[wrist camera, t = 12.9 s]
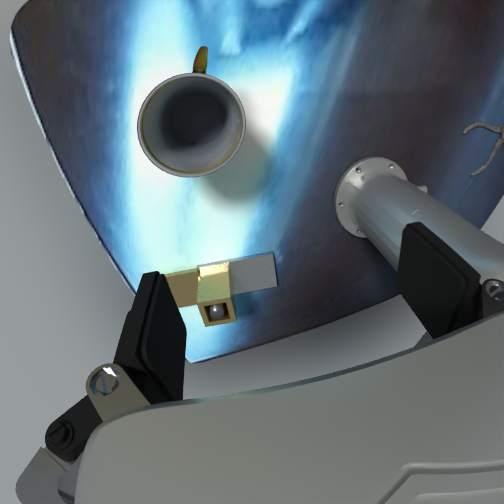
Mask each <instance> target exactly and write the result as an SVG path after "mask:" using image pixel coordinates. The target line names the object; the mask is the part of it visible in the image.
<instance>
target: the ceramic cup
mask: <svg viewBox="0 0 504 504" xmlns="http://www.w3.org/2000/svg"><path fill="white" fill-rule="evenodd" d="M207 54H208V48H207V47H205V46H202V47H200V49H199V50H198V52H197V55H196V57H195V60H194V64H193V72H192V73H186V74H180V75H177V76H174V77H171V78H169V79H167V80H165V81H163V82H162V83H160V84H159V85H158V86H157V87H155V88H154V89H153V90H152V91H151V92H150V94H149V95H148V96H147V98H146V99H145V101H144V102H143V104H142V106H141V109H140V112H139V116H138V122H137V133H138V139H139V142H140V145H141V147H142V149H143V151H144V153H145V155H146V156H147V157H148V159H149V160H150V161H151V162H152V163H153V164H154V165H155V166H157V167H158V168H159V169H161V170H163V171H165V172H166V173H169V174H172V175H175V176H179V177H199V176H204V175H207V174H210V173H212V172H215V171H216V170H218V169H220V168H221V167H223V166H224V165H225V164H227V163H228V162H229V161H230V160H231V159H232V158H233V156H234V155H235V154H236V153H237V151H238V149H239V147H240V145H241V143H242V141H243V138H244V134H245V126H246V120H245V113H244V109H243V106H242V103H241V101H240V99H239V98H238V96H237V95H236V93H235V92H234V91H233V90H232V89H231V88H230V87H229V86H228V85H227V84H226V83H224V82H223V81H221V80H219V79H217V78H215V77H213V76H210V75H206V68H207Z"/></svg>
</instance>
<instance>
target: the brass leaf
mask: <svg viewBox="0 0 504 504" xmlns="http://www.w3.org/2000/svg"><path fill="white" fill-rule="evenodd" d="M164 275H165V277H166V279H167V282H168V284H169V287H170V289H171V292H172V294H173V297H174V299H175V302H176V304H177V307H183V306H189V305H195V304H197V305H198V308H199V311H200V313H201V316H202V319H203V322H204V324H205V327H207V326H213V325H219V324H225V323H231V322H237V318H236V308H235V297H234V289H233V285H232V281H231V277H230V273H229V269H228V267H225V268H220V269H215V270H209V271H204V272H199V271H198V268H195V269H190V270H185V271H179V272H174V273H169V274H164ZM219 303H223V310H224V315H223V317H222V318H220V319H214V318H212V317H211V316H210V305H213V304H219Z"/></svg>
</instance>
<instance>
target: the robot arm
mask: <svg viewBox="0 0 504 504" xmlns="http://www.w3.org/2000/svg"><path fill="white" fill-rule="evenodd" d="M356 168H357V170H356ZM339 203H340V204H339ZM334 207H335V213H336V215H337V218H338V220H339V222H340V223H341V224H342V226H343V227H344V228H345V229H346V230H347V231H348V232H350V233H351V234H353V235H355V236H357V237H362V238H368V239H369V240H370V241H371V242H372V244H373V245H374V246H375V247H376V248H377V249H378V250H379V252H380V253H381V254H382V255H383V256H384V257H385V258H386V260H387V261H388V262H389V263H390V264H391V266H392V267H393V268H394V269H395V270H396V271H397V276H396V288H397V290H398V291H399V293H400V294H401V295H402V297H403V298H404V299H405V301H406V302H407V303H408V305H409V306H410V307H411V309H412V310H413V312H414V313H415V314H416V316H417V317H418V319H419V320H420V321H421V323H422V324H423V326H424V327H425V329H426V330H427V331H426V333H425V334H424V335H423V336H422V338H421V339H420V340H419V341H418V343H417V344H416V345H415V346H414V347H413V348H410V349H407V350H405V351H402V352H399V353H396V354H393V355H390V356H387V357H384V358H381V359H378V360H375V361H372V362H369V363H365V364H362V365H358V366H355V367H352V368H348V369H345V370H341V371H337V372H334V373H330V374H326V375H322V376H318V377H314V378H310V379H305V380H301V381H297V382H292V383H288V384H283V385H278V386H273V387H268V388H262V389H256V390H250V391H244V392H238V393H232V394H225V395H218V396H211V397H204V398H195V399H187V400H183V383H184V382H183V381H184V366H185V351H186V337H187V331H186V326H185V324H184V321H183V319H182V317H181V314H180V312H179V309H178V307H177V304H176V302H175V299H174V297H173V294H172V292H171V289H170V287H169V284H168V282H167V279H166V277H165V275H164V274H160V273H159V272H158V271H155V272H149V273H144V274H143V275H142V278H141V281H140V284H139V287H138V290H137V293H136V296H135V299H134V302H133V305H132V309H131V310H130V311H129V312H128V314H127V317H126V320H125V323H124V326H123V329H122V333H121V337H120V340H119V343H118V347H117V350H116V354H115V357H114V361H113V364H110V363H108V364H104V365H101V366H99V367H97V368H96V369H95V370H94V371H92V372H91V374H90V375H89V377H88V379H87V382H86V391H87V394H88V395H87V396H85V397H84V398H83V399H81V400H80V401H79V402H78V403H76V404H75V405H74V406H73V407H71V408H70V409H69V410H68V411H66V412H65V413H64V414H62V415H61V416H60V417H59V418H57V419H56V420H55V421H54V422H52V424H51V425H50V426H49V427H48V429H47V431H46V435H45V443H46V447H45V449H43V448H42V447H40V449H39V450H38V452H37V453H36V455H35V456H34V457H33V459H32V460H31V462H30V463H29V464H28V466H27V467H26V468H25V470H24V471H23V473H22V474H21V476H20V477H19V479H18V481H17V483H16V494H17V497H18V498H19V500H20V501H21V503H22V504H504V244H503V243H501V242H499V241H497V240H496V239H494V238H492V237H491V236H489V235H487V234H485V233H484V232H483V231H481V230H480V229H478V228H477V227H476V226H474V225H473V224H471V223H470V222H468V221H467V220H465V219H464V218H462V217H461V216H459V215H458V214H457V213H455V212H454V211H452V210H451V209H449V208H448V207H446V206H445V205H443V204H442V203H440V202H439V201H437V200H436V199H434V198H433V197H431V196H430V195H428V194H427V187H426V186H417V187H416V186H415V185H413V184H411V183H410V182H408V180H407V177H406V175H405V173H404V172H403V170H402V169H401V168H400V167H399V166H398V165H397V164H396V163H394V162H393V161H391V160H389V159H386V158H384V157H377V156H375V157H367V158H364V159H361V160H359V161H358V162H356V163H354V164H353V165H352V166H350V167H349V168H348V169H347V170H346V172H345V173H344V174H343V175H342V177H341V179H340V180H339V182H338V185H337V188H336V191H335V196H334Z"/></svg>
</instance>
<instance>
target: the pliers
mask: <svg viewBox="0 0 504 504" xmlns="http://www.w3.org/2000/svg"><path fill="white" fill-rule="evenodd" d="M475 127H484V128H486V129H489V130H491V131H493V132H497V133H501V137H500V138H499V139H498V141H497V142H496V144H495V146H494V148H493V150H492V152H491V154H490V156H489V158H488V160H487V162H486V163H485V164H484V165H483V166H482V167H481V168H480V169H479V170H477V171H475V172H472V173H471V174H470V175H471V176H474V175H476V174H478V173H480V172H481V171H483V170H484V169H485V168H486V167H487V166H488V165H489V163H490V162H491V160H492V158H493V157H494V155H495V153H496V151H497V149H498V148H499V146H500V145H501V144H502V143H504V124H503V125H500V126H497V127H496V126H491V125H489V124H486V123H481V122H478V123H474V124H472V125H470V126H468V127H467V128H466V129H465V130H464V131H463V134H466V133H467V132H468V131H469V130H471V129H472V128H475Z"/></svg>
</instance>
